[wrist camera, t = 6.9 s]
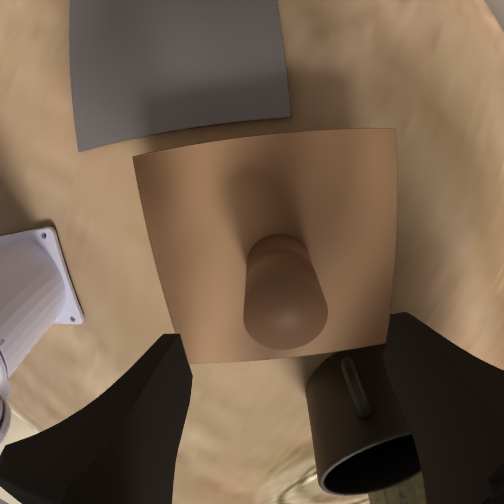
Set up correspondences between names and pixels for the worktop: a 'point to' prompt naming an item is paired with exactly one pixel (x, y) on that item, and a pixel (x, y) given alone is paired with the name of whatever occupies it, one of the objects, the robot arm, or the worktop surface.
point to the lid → (274, 241)
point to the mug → (358, 425)
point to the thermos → (401, 493)
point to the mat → (173, 66)
